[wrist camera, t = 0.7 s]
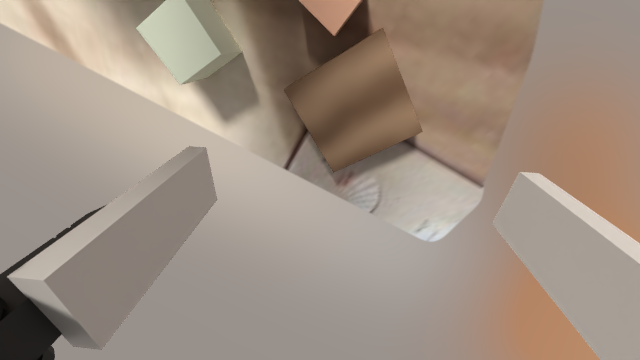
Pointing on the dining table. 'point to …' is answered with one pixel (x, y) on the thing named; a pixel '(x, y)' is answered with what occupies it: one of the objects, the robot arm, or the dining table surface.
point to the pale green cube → (189, 38)
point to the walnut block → (355, 103)
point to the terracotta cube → (332, 12)
